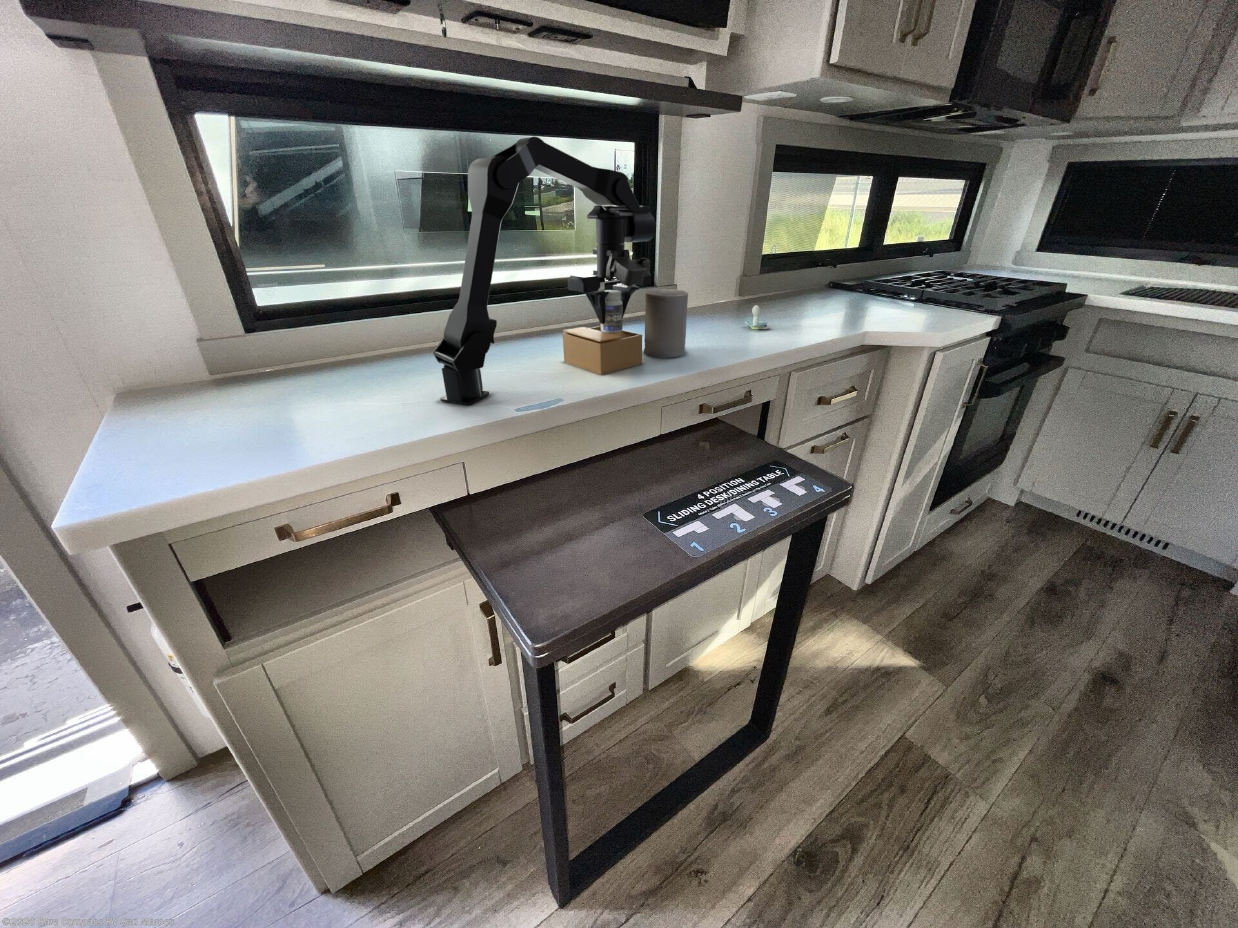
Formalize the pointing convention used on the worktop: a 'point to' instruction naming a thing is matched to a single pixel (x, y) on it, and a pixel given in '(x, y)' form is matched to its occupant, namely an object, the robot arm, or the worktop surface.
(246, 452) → the worktop surface
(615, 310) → the pill bottle
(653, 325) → the pillar candle
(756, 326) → the pacifier
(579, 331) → the flap
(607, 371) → the carton
